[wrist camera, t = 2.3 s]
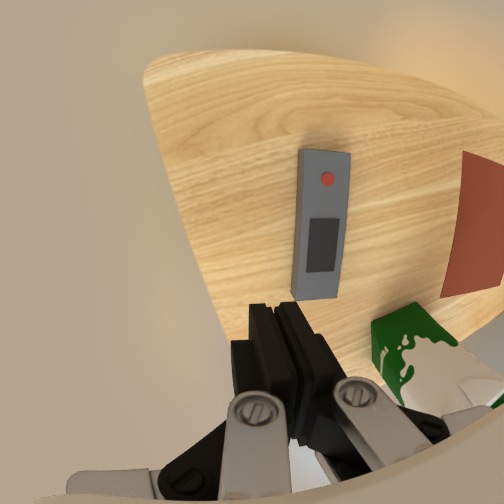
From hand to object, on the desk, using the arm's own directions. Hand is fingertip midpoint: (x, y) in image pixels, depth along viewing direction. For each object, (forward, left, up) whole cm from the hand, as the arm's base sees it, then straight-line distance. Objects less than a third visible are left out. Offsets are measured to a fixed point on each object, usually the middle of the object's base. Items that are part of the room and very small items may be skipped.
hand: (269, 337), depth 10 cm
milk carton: (+14, +20, -17) cm, 30 cm away
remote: (0, +8, -16) cm, 18 cm away
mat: (0, +37, -16) cm, 40 cm away
